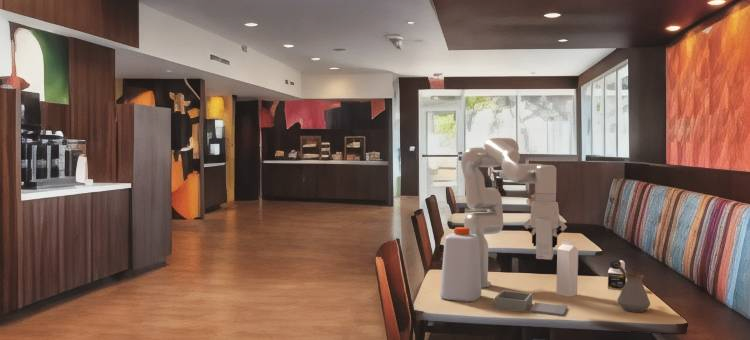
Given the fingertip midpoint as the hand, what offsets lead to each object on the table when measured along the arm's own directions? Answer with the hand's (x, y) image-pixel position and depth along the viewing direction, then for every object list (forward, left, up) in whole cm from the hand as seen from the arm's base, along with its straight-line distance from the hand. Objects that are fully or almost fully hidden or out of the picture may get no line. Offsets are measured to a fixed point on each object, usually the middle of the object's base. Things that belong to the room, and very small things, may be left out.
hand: (544, 245), depth 229 cm
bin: (-11, 0, -24) cm, 26 cm away
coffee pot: (+28, +20, -24) cm, 43 cm away
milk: (+5, +28, -24) cm, 37 cm away
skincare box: (0, 0, -5) cm, 5 cm away
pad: (+2, 0, -24) cm, 24 cm away
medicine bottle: (+23, +51, -24) cm, 61 cm away
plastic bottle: (-33, +4, -24) cm, 41 cm away
